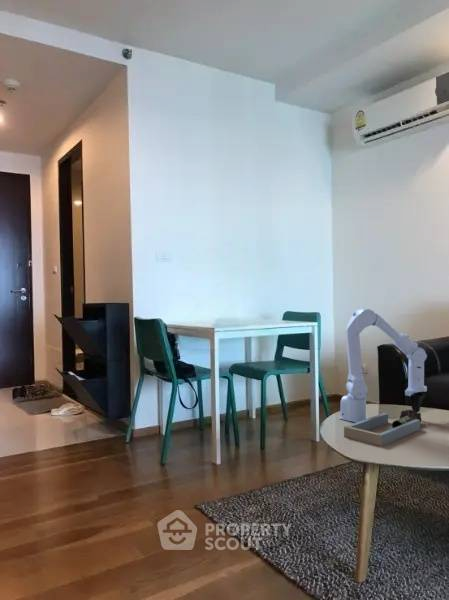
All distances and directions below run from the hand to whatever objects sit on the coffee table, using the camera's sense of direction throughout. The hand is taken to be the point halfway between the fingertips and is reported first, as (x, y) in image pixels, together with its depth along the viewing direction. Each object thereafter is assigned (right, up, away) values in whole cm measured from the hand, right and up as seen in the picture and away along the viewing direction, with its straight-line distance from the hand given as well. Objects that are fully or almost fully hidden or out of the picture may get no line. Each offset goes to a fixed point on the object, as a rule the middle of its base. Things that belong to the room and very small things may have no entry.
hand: (415, 411), depth 186 cm
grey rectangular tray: (-19, -4, -17) cm, 25 cm away
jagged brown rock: (-7, -4, -9) cm, 12 cm away
